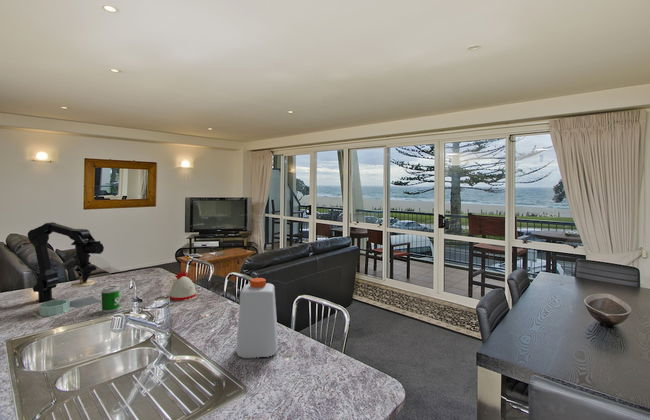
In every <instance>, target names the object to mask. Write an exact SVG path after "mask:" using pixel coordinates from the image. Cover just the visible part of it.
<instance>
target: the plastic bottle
mask: <svg viewBox="0 0 650 420" xmlns="http://www.w3.org/2000/svg"><path fill="white" fill-rule="evenodd" d="M275 288H276V287H275V285H274V284H272V283H269V282H267V280H266V279H265V278H263V277H254V278H251V279H250V280H249V283H247V284H245V285H243V287H242V289H241V292H240V296H239V308H238V309H239V310H238V322H237V323H238V324H237V338H236V339H237V341H236V354H237V356H238V357H239V358H241V357H242V359H260V358H259V357H268V358H270V357H269V356H271V357H273V356H274V355H276V353H277V350H278V345H279V344H278V343H279V337H278V335H279V333H278V322H277V320H278V318H277V306H276V303H277V302H276V291H275ZM272 355H273V356H272ZM256 357H257V358H256Z"/></svg>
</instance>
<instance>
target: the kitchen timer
mask: <svg viewBox="0 0 650 420" xmlns="http://www.w3.org/2000/svg"><path fill="white" fill-rule="evenodd" d="M174 277H175V278H176V280H175V281H174V282H173V283H172V285H171V288H170V290H169V291H170V292H169V299H170V300H172V299H173V300H172V301H177V300H179V301H186V300H185V299H187V300H190V299H189V298H191V299H193V298H195V297H196V295H197V291H196V288H195V284H194V283H193V281H192V280H191V279H190V278H189V277H190V273H188V271H186V272H185V270H180V273H179V271H177V274H175V276H174ZM194 296H195V297H194ZM192 297H193V298H192Z"/></svg>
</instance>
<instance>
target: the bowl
mask: <svg viewBox="0 0 650 420" xmlns="http://www.w3.org/2000/svg"><path fill="white" fill-rule="evenodd" d="M69 301H70V300H69V299H63V298H62V299H55V300H51V301H47V302H43V303H39V305H38V313H39V314H38V315H39V316H41V317H51V316H52V317H53V316H58V315H61V314H64V313H67V312H68V311H70V308H71V307H70V306H71V305H70V302H69Z"/></svg>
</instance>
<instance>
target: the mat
mask: <svg viewBox="0 0 650 420" xmlns="http://www.w3.org/2000/svg"><path fill="white" fill-rule="evenodd" d="M69 302H70V306H72V307H73V308H76V309H79V308H82V307H86V306H87V307H88V306H90V305H93V304H98V303H102V299H98V298H96V297H94V296H88V297H82V298H77V299H75V300H69Z"/></svg>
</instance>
